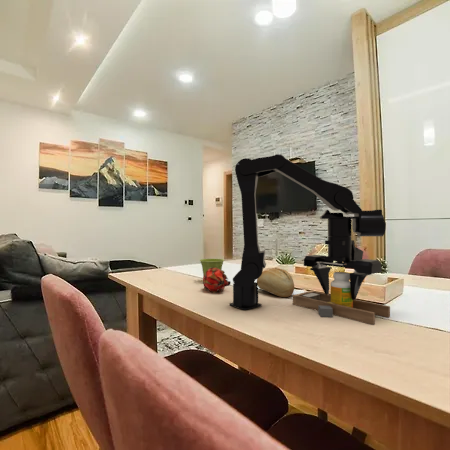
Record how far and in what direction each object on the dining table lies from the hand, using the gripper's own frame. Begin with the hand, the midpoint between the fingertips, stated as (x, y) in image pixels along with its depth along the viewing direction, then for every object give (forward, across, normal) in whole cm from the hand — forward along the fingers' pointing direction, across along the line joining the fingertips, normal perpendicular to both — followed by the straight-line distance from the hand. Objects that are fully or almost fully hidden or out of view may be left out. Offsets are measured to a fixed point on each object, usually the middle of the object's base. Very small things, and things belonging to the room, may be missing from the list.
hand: (339, 296), depth 77 cm
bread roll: (+4, +24, -2) cm, 24 cm away
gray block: (+4, 0, +6) cm, 7 cm away
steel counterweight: (+4, +9, 0) cm, 9 cm away
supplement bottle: (+4, 0, 0) cm, 4 cm away
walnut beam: (+4, 0, 0) cm, 4 cm away
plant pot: (+4, +52, +3) cm, 52 cm away
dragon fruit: (+4, +39, +11) cm, 40 cm away
